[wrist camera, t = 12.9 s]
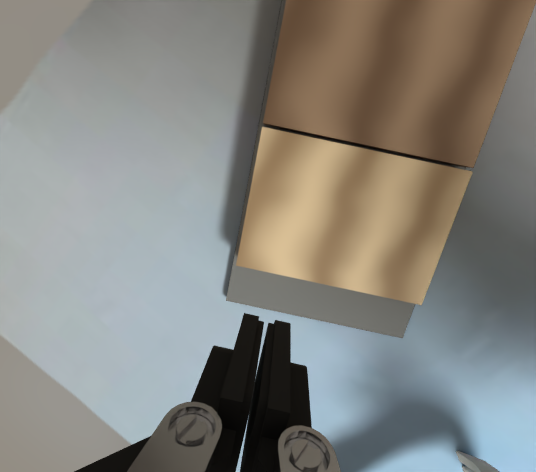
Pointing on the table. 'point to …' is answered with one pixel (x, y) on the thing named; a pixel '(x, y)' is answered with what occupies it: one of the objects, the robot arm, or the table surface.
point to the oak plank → (348, 215)
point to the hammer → (474, 463)
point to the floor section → (380, 110)
